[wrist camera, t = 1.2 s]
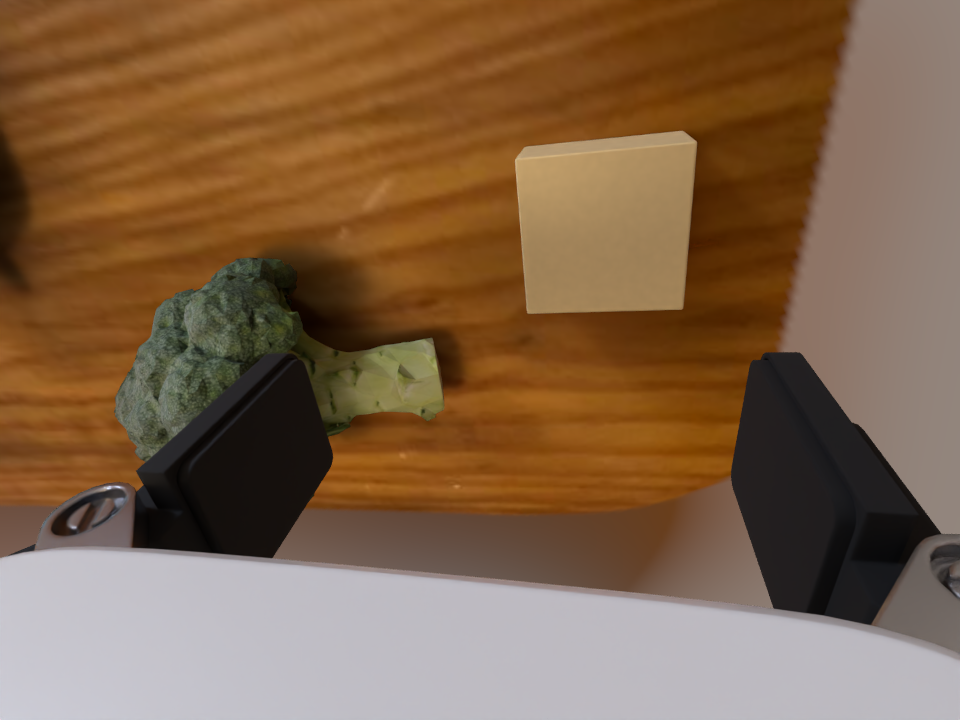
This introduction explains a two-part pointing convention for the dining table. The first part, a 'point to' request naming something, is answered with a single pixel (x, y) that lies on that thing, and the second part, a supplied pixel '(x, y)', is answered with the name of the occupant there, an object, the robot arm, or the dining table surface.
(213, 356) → the vegetable
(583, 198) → the pad
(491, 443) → the dining table surface
